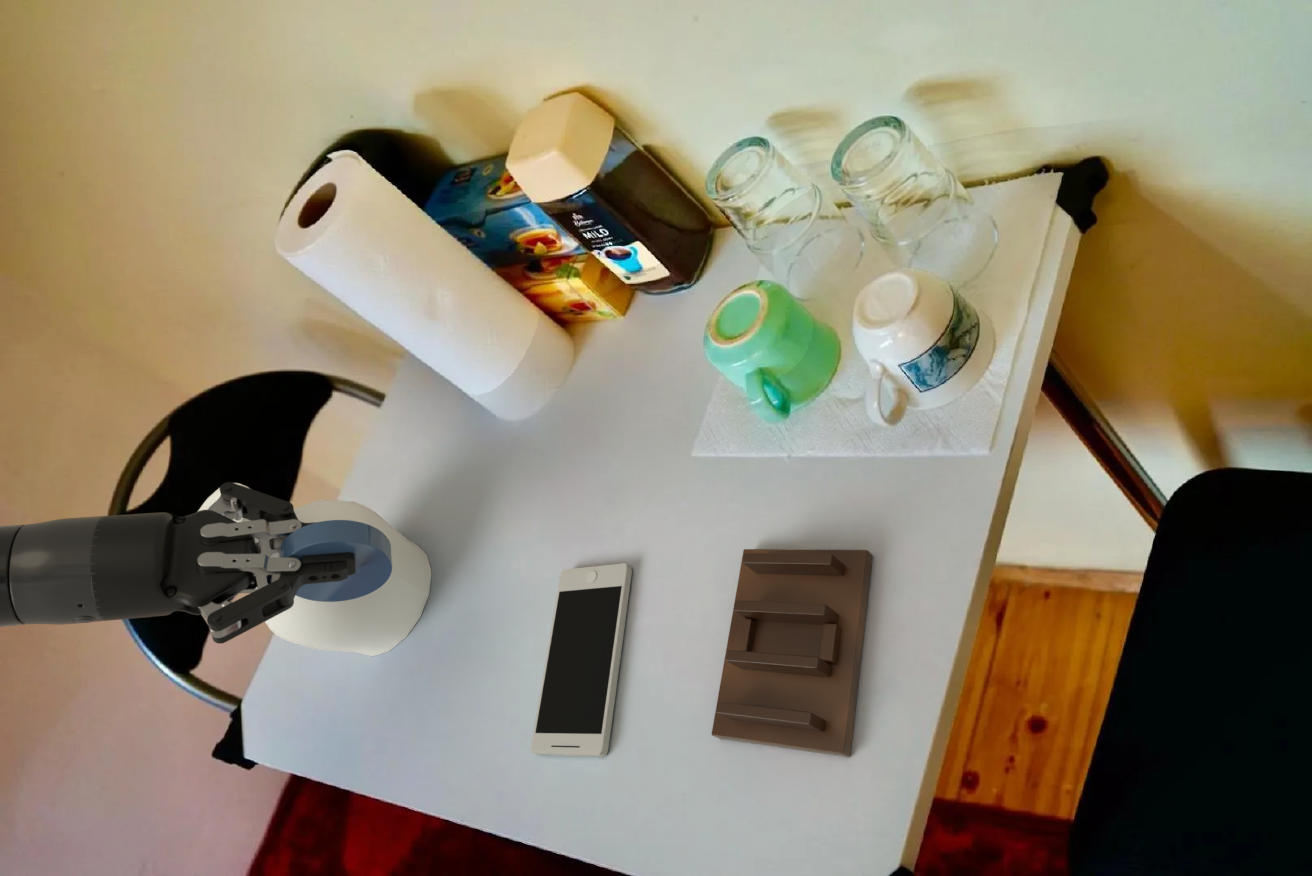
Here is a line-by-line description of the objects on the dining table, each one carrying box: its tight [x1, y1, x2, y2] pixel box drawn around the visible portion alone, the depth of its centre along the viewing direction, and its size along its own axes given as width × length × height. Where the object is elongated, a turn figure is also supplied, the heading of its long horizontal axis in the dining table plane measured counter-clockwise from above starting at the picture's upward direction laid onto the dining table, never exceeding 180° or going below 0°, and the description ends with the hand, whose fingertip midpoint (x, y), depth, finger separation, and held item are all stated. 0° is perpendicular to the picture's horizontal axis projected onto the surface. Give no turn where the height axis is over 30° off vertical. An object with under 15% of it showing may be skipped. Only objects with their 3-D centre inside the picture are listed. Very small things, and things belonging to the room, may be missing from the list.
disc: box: [278, 520, 392, 602], centre depth 70 cm, size 2×8×8 cm, turn 106°
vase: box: [197, 482, 432, 657], centre depth 84 cm, size 14×14×20 cm
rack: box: [711, 548, 874, 758], centre depth 63 cm, size 14×10×4 cm
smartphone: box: [530, 562, 633, 758], centre depth 73 cm, size 7×16×1 cm, turn 172°
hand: (353, 549), depth 70 cm, fingers closed on disc, 2 cm apart
